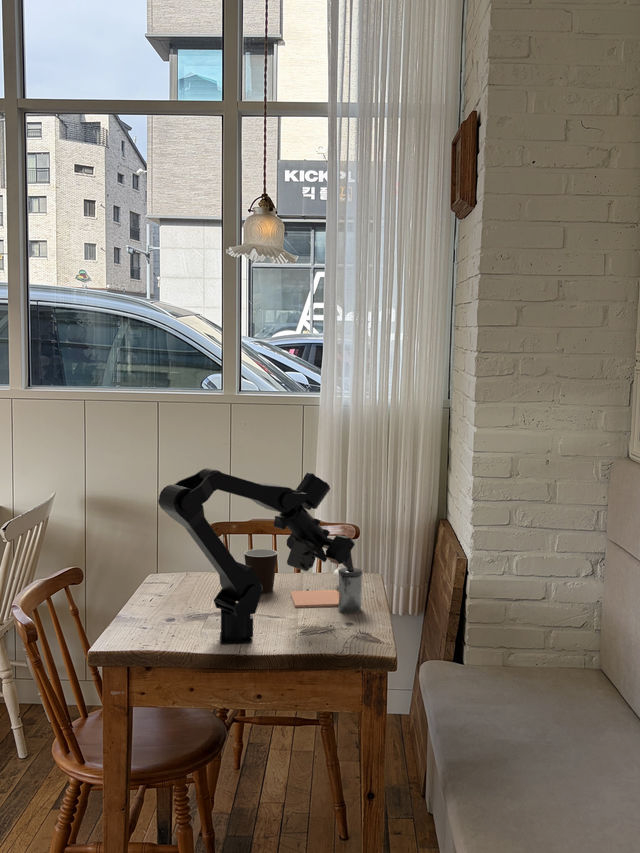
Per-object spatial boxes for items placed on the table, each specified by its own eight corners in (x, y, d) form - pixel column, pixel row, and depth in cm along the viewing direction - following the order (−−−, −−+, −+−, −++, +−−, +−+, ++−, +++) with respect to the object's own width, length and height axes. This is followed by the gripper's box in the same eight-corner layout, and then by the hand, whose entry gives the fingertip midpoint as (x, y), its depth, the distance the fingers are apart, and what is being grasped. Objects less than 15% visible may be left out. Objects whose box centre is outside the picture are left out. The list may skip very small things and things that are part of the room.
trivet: (295, 607, 202) (295, 605, 202) (290, 593, 214) (290, 591, 214) (343, 606, 203) (343, 603, 203) (336, 592, 215) (336, 590, 215)
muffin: (357, 584, 223) (357, 558, 223) (355, 590, 217) (356, 564, 217) (334, 583, 224) (334, 557, 223) (332, 589, 218) (332, 563, 217)
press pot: (339, 613, 197) (340, 570, 196) (336, 606, 203) (336, 564, 202) (363, 613, 198) (364, 570, 197) (359, 605, 204) (360, 564, 203)
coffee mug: (272, 596, 211) (272, 557, 210) (239, 594, 213) (239, 555, 212) (283, 584, 223) (283, 547, 222) (252, 582, 224) (252, 545, 223)
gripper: (257, 545, 193) (295, 583, 201) (309, 561, 179) (346, 601, 187) (284, 508, 197) (319, 546, 205) (336, 520, 183) (372, 561, 191)
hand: (338, 564), depth 197 cm, fingers open, 9 cm apart
